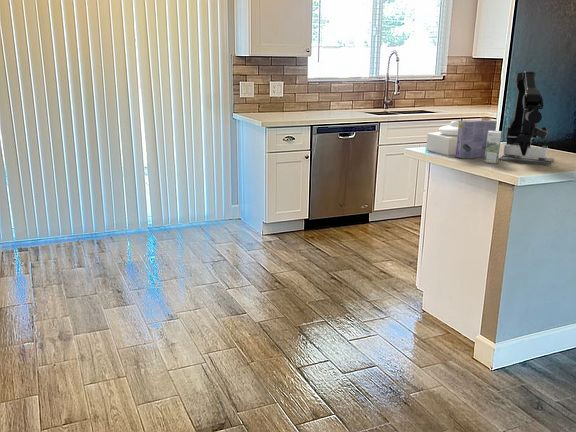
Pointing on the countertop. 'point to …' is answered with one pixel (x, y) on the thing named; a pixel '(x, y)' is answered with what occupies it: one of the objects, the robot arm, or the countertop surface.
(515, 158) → the mat
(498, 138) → the syrup box
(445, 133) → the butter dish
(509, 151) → the steel bar
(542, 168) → the countertop surface
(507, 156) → the hook posts
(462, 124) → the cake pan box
